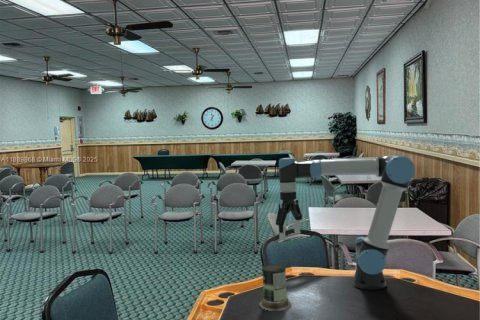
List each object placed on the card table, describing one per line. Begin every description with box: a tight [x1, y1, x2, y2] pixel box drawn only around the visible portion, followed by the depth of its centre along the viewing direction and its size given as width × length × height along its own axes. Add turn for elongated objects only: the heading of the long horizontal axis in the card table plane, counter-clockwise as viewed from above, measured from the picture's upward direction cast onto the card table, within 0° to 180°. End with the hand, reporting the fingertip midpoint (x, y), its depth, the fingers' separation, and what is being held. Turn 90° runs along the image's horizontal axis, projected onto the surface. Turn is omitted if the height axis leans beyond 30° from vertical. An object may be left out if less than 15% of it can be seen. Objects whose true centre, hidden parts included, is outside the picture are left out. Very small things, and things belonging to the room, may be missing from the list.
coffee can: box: [261, 263, 288, 303], centre depth 190 cm, size 10×10×14 cm
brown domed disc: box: [258, 297, 292, 312], centre depth 191 cm, size 14×14×3 cm
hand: (290, 236), depth 204 cm, fingers open, 13 cm apart
